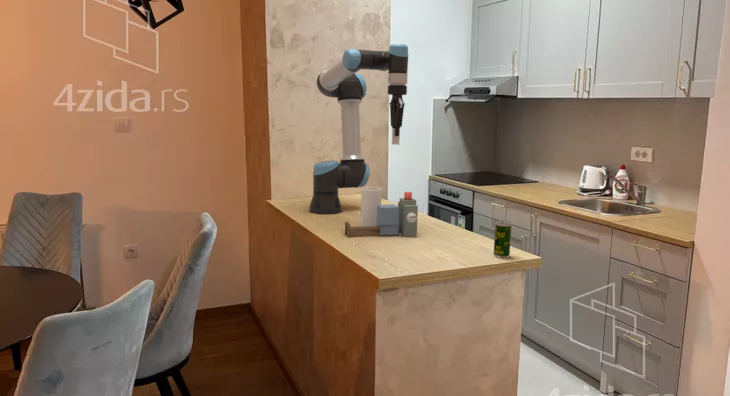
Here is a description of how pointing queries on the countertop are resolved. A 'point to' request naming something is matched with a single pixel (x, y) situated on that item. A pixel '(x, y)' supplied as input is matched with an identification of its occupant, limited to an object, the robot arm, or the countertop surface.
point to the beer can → (502, 238)
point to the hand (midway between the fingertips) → (395, 144)
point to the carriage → (388, 219)
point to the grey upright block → (408, 217)
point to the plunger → (407, 195)
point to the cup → (370, 205)
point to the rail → (363, 231)
